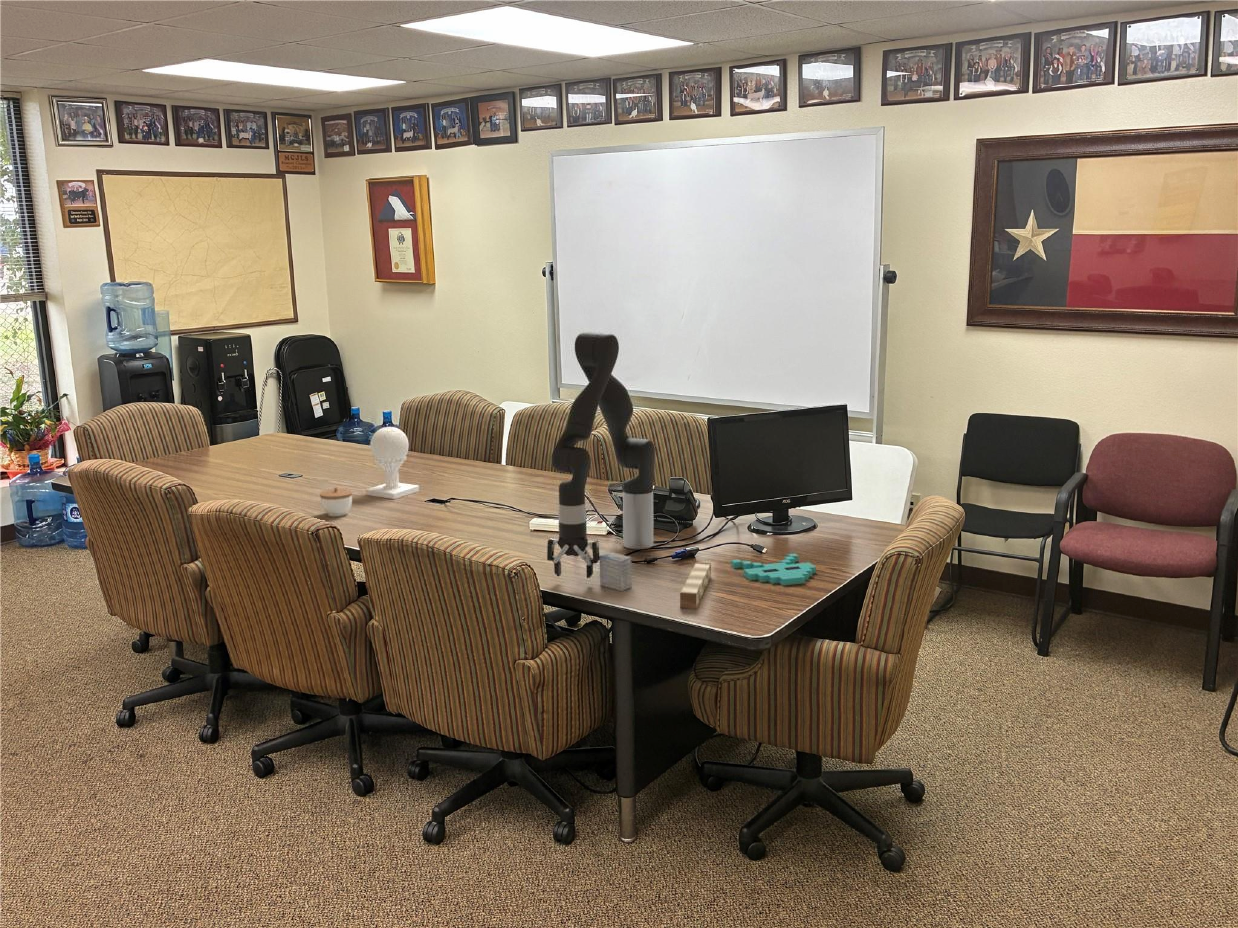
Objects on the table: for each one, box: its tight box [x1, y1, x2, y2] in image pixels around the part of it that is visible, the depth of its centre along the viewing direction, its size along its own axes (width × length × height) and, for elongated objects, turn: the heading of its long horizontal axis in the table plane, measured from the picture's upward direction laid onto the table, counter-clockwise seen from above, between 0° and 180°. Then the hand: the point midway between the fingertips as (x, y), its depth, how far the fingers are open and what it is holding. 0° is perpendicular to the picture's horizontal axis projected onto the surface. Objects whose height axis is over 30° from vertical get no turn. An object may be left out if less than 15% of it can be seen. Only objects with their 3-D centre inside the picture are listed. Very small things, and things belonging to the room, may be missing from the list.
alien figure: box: [730, 553, 817, 587], centre depth 293 cm, size 20×2×20 cm
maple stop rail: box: [679, 561, 712, 610], centre depth 278 cm, size 26×4×4 cm, turn 167°
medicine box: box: [599, 551, 633, 592], centre depth 283 cm, size 8×4×9 cm, turn 48°
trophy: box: [365, 426, 420, 500], centre depth 385 cm, size 14×14×25 cm
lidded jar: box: [319, 487, 353, 517], centre depth 359 cm, size 11×11×9 cm
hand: (573, 576), depth 286 cm, fingers open, 8 cm apart
